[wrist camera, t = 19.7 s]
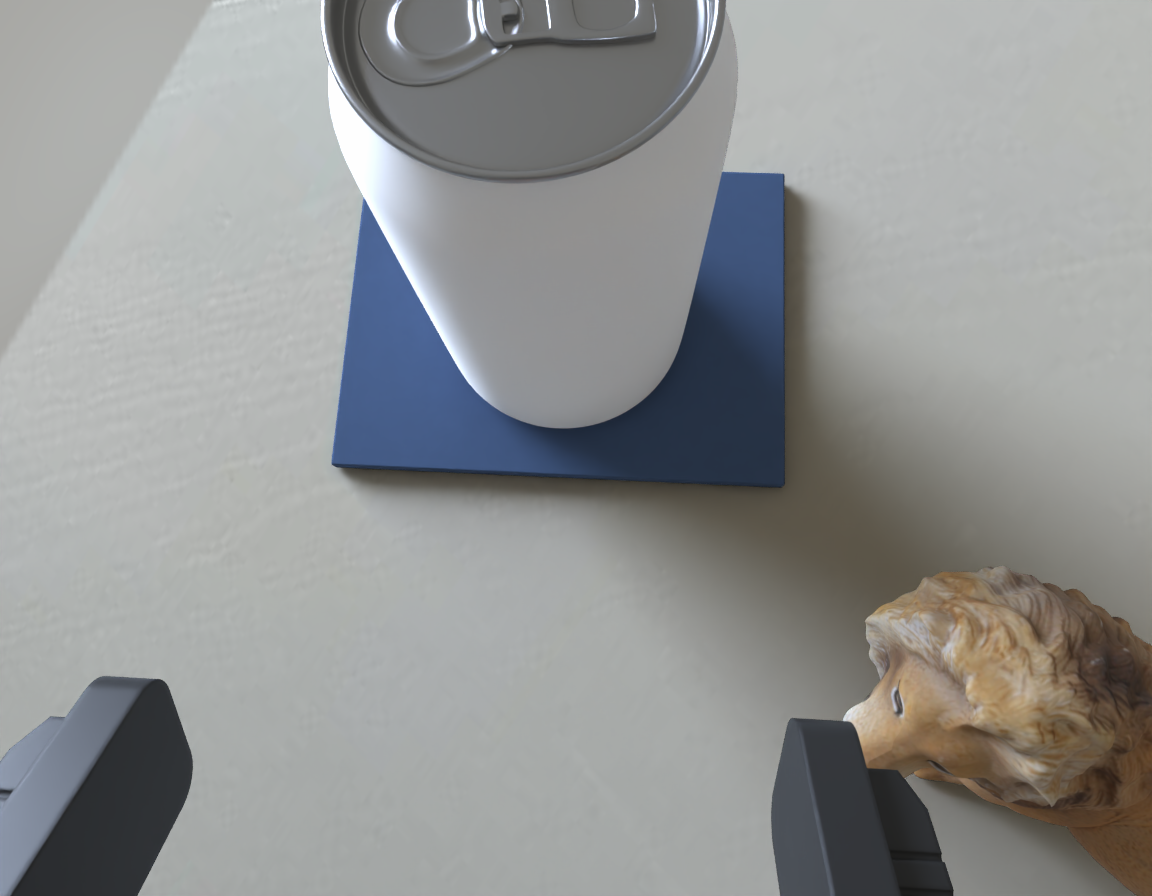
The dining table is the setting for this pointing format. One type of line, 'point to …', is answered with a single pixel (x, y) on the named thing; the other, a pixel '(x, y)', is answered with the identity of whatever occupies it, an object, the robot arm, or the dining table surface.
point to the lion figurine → (1019, 706)
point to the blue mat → (608, 449)
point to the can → (541, 180)
